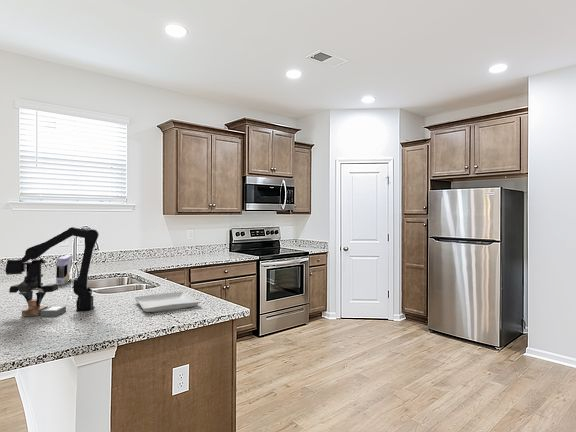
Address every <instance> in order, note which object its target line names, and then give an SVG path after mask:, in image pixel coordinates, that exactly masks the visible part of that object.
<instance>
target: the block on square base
mask: <svg viewBox="0 0 576 432" xmlns="http://www.w3.org/2000/svg"><path fill="white" fill-rule="evenodd" d="M27 306H28V307H27V308H25V309H23V310H21V317H39V316H41V311H42V310H44V309H46V308H48V307H49V306H48V305H41V304H40V305H39V306H38V307H37V298H32V300H29V301H28V303H27Z"/></svg>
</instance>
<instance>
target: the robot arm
mask: <svg viewBox="0 0 576 432" xmlns="http://www.w3.org/2000/svg"><path fill="white" fill-rule="evenodd" d="M73 236H75V237H78V238H82V239H84V251H83V256H82V261H81V266H80V270H79V275H78V277H75V278H74V279H73V284H72V285H73V286H72V287H71V288H72V289H73V291H72V292H73V293H74V294H75V295H76V296H77V298H76V301H75V303H76V305H75V306H76V307H75V308H76V309H75V312H83V311H84V312H85V311H86V312H88V311H91V310H93V309H94V308H96V307H95V306H94V295H92V294H93V292H94V290H93V289H92V288H91V287H90V286H89V270H90V266H91V260H92V256H93V251H94V247H95V246H96V244H97V241H98V239H99V232H98V230H97V229H94V228H90V229H83V228H77V227H74V226H72V227H69V228H68V229H66V230H64V231H63V232H61V233H58V234H57V235H55V236H53V237H52V238H49V239H47V240H46V241H44V242H41V243H39V244H35V245H33V246H31V247H28V248H27V249H26V250H25V251H24V252H25V253H24V254H25V255H24V256H22V258H21V259H7V261H6V266H5V274H6V275H7V276H10V275H11V276H12V275H22V274H23V273H25V272H26V275H25V276H24V279H23V281H22V282H20V283H19V284H14V285H11V286H10V287H9V289H8V292H9V293H13V294H14V293H17V292H18V294H19V295H20V296H23V297H24V298H25V300H26V303H27V304H28V301H29V300H32V299H33V296H34V295H33V294H34V291H37V292H35V295H36V299H37V307H38V306H39V305H40V306H41V302H42V301H43V299H44V297H45V296H46V294H47V293H53V292H55V291H58V290H59V285H57V284H56V283H48V284H45V285H44V282H42V277H44V274H43V273H42V264H46V263H47V261H46V260H45V259H44V258H43V257H41V256H42V255H43V254H45V253H46V252H47V251H48V250H50V249H52V248H53V247H55V246H56V245H58V244H60V243H62V242H64V241H66V240H68V239H69V238H71V237H73ZM40 257H41V258H40ZM38 258H40V259H38ZM30 260H31V261H30Z"/></svg>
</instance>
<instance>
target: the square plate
mask: <svg viewBox="0 0 576 432" xmlns="http://www.w3.org/2000/svg"><path fill="white" fill-rule="evenodd" d="M133 300H135V301H136V302H137V303H138V304H139V305H140V307H141V308H142V310H143V311H144V312H146V313H150V312H151V313H156V312H167V311H172V310H181V309H186V308H193V307H195V306H197V305H198V304H200V301H199V300H197V299H196V298H194V297H193V296H191V295H190V294H188V293H187V292H186V291H176V292H165V293H164V292H163V293H155V294H154V293H153V294H148V295H139V296H134V297H133Z"/></svg>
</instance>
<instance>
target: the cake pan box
mask: <svg viewBox="0 0 576 432" xmlns="http://www.w3.org/2000/svg"><path fill="white" fill-rule="evenodd" d="M72 259H73V260H74V255H73V254H66V255H62V256H60V257H57V258H56V270H55V271H56V275H55V276H56V277H55V280H56V281H55V284H57V286H64V285H66V284H68V283H69V282H68V280H69V272H70V269H71V266H72Z"/></svg>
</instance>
